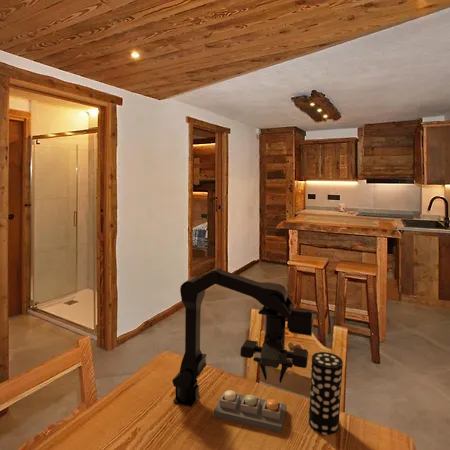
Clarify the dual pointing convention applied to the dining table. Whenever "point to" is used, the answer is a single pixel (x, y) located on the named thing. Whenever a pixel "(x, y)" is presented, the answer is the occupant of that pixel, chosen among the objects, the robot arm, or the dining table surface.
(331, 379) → the spotted tube
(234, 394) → the cream button
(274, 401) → the orange button
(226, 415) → the rack
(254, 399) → the sage button
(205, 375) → the dining table surface
